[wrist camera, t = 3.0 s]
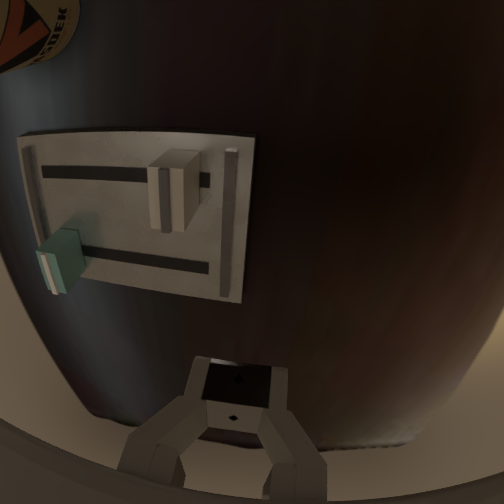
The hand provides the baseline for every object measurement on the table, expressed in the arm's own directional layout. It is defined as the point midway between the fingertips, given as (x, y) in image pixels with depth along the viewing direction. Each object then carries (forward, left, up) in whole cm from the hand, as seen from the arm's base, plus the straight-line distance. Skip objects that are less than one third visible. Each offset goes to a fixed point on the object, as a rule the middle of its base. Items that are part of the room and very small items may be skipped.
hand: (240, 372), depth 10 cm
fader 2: (+6, 0, -16) cm, 17 cm away
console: (+12, +4, -17) cm, 22 cm away
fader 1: (+18, +8, -16) cm, 25 cm away
